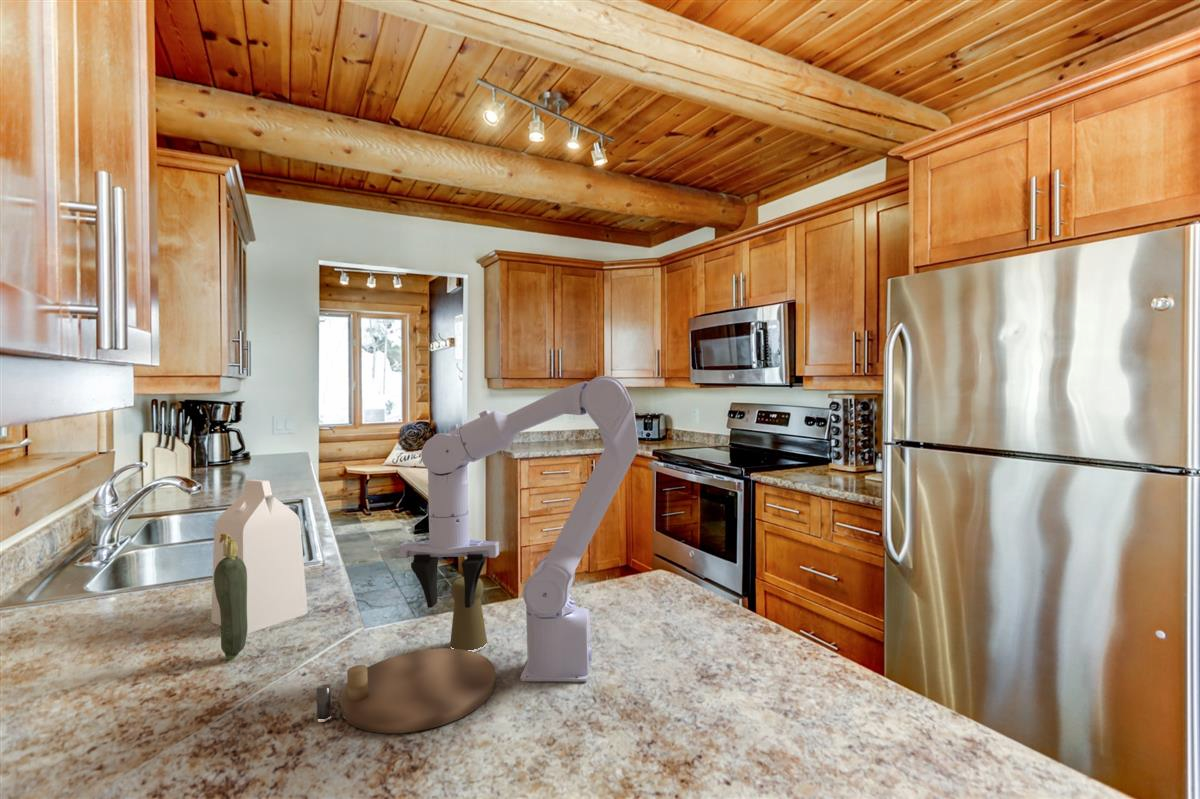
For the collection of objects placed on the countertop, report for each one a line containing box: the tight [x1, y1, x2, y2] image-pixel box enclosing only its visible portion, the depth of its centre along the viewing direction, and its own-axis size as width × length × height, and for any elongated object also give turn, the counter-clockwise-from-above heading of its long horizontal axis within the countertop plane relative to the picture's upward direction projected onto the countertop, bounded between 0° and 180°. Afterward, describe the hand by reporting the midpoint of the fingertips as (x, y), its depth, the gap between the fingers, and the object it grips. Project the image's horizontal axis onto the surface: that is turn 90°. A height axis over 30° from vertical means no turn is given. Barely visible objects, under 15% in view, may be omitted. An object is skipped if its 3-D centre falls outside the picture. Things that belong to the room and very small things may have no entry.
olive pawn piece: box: [449, 576, 488, 651], centre depth 93 cm, size 6×6×11 cm
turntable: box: [340, 648, 496, 734], centre depth 78 cm, size 20×20×5 cm
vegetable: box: [214, 533, 248, 661], centre depth 89 cm, size 4×4×20 cm
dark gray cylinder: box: [315, 683, 332, 719], centre depth 77 cm, size 17×14×4 cm
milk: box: [211, 478, 309, 635], centre depth 108 cm, size 12×12×26 cm
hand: (450, 605), depth 85 cm, fingers open, 5 cm apart
